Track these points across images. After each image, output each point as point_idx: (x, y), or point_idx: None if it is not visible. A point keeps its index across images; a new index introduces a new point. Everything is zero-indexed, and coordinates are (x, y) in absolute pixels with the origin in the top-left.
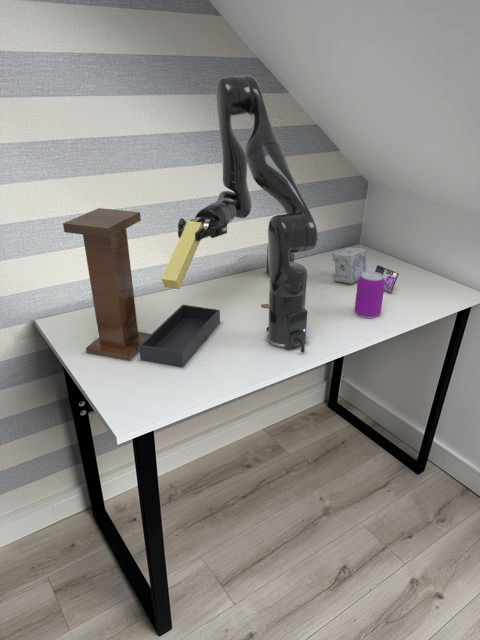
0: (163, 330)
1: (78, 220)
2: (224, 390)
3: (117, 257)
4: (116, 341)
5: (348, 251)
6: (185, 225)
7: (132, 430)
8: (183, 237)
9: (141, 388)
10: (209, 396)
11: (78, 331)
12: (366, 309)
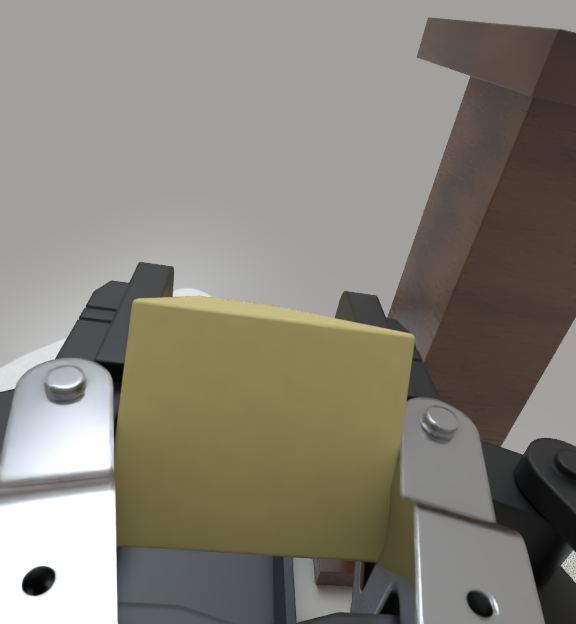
0: (278, 571)
1: None
2: (4, 380)
3: (440, 201)
4: None
5: None
6: (432, 406)
7: (177, 292)
8: (295, 312)
9: None
10: (45, 360)
11: (573, 565)
12: None
